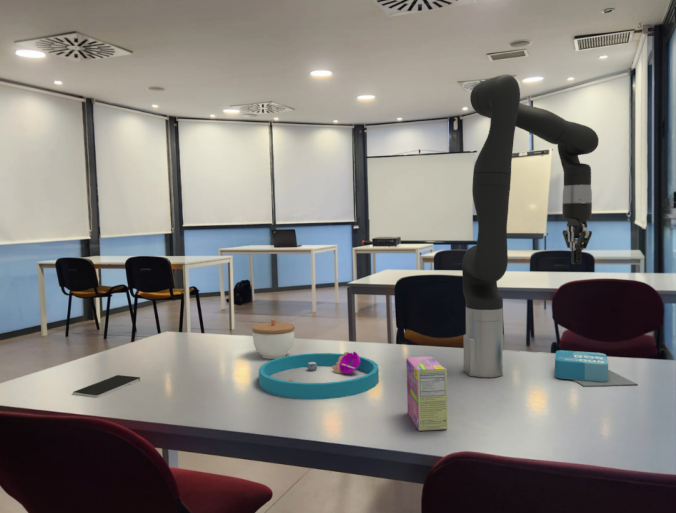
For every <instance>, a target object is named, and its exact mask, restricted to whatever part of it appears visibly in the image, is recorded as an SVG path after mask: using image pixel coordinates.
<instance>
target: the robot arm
mask: <svg viewBox="0 0 676 513" xmlns="http://www.w3.org/2000/svg"><path fill="white" fill-rule="evenodd" d="M469 99H470V104H471V107H472V109H473V110H474V111H475V112H476V114H478V115H480V116H481V117H485V118H489V119H490V124H489V130H488V134H487V137H486V138H485V141H484V143H483V146H482V148H481V150H480V151H479V153H478V156H477V158H476V161H475V162H474V167H473V174H472V189H471V190H472V191H471V192H472V199H473V204H474V208H475V209H474V210H475V213H476V217H477V228H478V229H477V240H476V245H473V246H470V248H469V247H468V249H467V250H466V251H465V253H464V254H463V258H462V266H461V267H462V271H461V272H462V275H461V276H462V292H463V296H464V297H463V298H464V299H465V300H464V301H465V334H463V371H464V372H465V373H466V374H467V375H468V376H469V377H477V378H478V377H479V378H497V377H500V376H503V373H504V372H503V368H504V366H503V362H504V361H503V359H504V358H503V356H504V355H503V348H504V344H503V341H504V340H503V338H504V335H503V332H504V331H503V330H504V329H503V328H504V326H503V324H504V322H503V320H504V319H503V318H504V316H503V315H504V314H503V312H504V311H503V310H504V308H503V307H504V304H503V302H504V300H503V296H502V295H501V293H500V291H499V289H498V281H499V280H500V279H502V278H503V276H504V275H505V274H506V272H507V269H508V264H509V261H508V260H509V258H508V216H509V202H510V191H511V181H512V162H513V161H512V160H513V149H514V140H515V134H516V133H515V132H516V131H515V130H516V128H518V129H520V130H523V131H525V132H528V133H529V134H532V135H534V136H536V137H538V138H539V139H542V140H543V141H545V142H547V143H549V144H552V145H557V152H558V156H559V159H560V164H561V166H562V172H563V188H562V189H563V190H562V207H561V208H562V212H561V213H562V216H561V217H562V220H567V224H566V229H564V230H562V235H563V238H564V241H565V245H566V248H567V249H569V250H570V251H571V252H570V253H571V256H570V259H571V261H570V262H571V264H573V265H581V264H582V255H583V254H582V251H584V249H587V247H588V244H589V242H590V240H591V237H592V235H593V231H592V230H588V222H587V220H589V219H592V217H593V213H592V212H593V210H592V209H593V206H592V205H593V204H592V203H593V202H592V200H593V192H592V191H593V190H592V167H591V166H590V164H587V163H582V162H580V160H579V159H580V158H579V156H581V155H583V156H584V155H588V154H591V153H593V152H594V151H595V150H597V148H598V146H599V135H598V134H597V133H596V131H595V129H593V128H591V127H590V126H587V125H584V124H582V123H581V124H580V123H578V122H574V121H569V120H566V119H565V118H563V117H561V116H559V115H558V114H556V113H554V112H553V111H552V112H551V111H550V110H547V109H544V108H540V107H538V106H537V107H536V106H532V105H528V104H525V103H521V90H520V84H519V82H518V81H517V79H516V78H515V77H514V76H513V75H512V74H507V73H506V74H502V75H497V76H494V77H491V78H488V79H485V80H483V81H481V82H478V83H477V84H476V85H475V86H473V87H472V90H471V93H470V98H469Z"/></svg>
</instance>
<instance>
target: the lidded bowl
mask: <svg viewBox="0 0 676 513" xmlns="http://www.w3.org/2000/svg"><path fill="white" fill-rule="evenodd" d="M295 329H296V327H295V325H294V324H293V323H290V322H283V321H281V322H280V321H279V322H276V319H274V318H273V319H271V321H270V322H263V323H258V324H255V325H253V326H252V327H251V331H252V339H253V345H254V348H255V350H256V352H257V353H258V354H259V355H261V358H263V359H269V360H274V359H277V358H282V357H286V356H287V354H288V353H289V352H290V351H291V349H292V348H293V346H294V340H295Z"/></svg>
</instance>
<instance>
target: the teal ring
mask: <svg viewBox="0 0 676 513" xmlns="http://www.w3.org/2000/svg"><path fill="white" fill-rule="evenodd" d="M318 367H331V369H332V372H333V373H334V374H339V375H340V374H346V375H349V374H352V373H353V372H355V371H356V370H357V371H361V372H364V373H366V374H365V375H362V376H359V377H355V378H350V379H345V380H339V381H329V382H327V381H326V382H301V381H293V380H292V379H288V380H283V379H278V378H276V377H272V376H273V375H275V374H278V373H281V372H285V371H288V370H293V369H299V368H301V369H302V368H307V369H308V370H309V371H310V372H314V371H316V370H317V369H318ZM379 370H380V369H379V364H378V363H377V362H375V361H374V360H372V359H369V358H367V357H363V356H360V355H359V353H357V352H356V351H353V352H348V351H346V352H343V353H334V352H333V353H332V352H324V353H323V352H320V353H319V352H315V353H313V352H312V353H299V354H294V355H293V354H291V355H286V356H285V357H282V358H277V359H270V360H269V361H268V360H267V361H266V362H264V363H263V364H261V365H260V366H259V368H258V384H259V387H260V388H261V390H263V391H265V392H266V393H270V394H272V395H274V396H279V397H283V398H289V399H298V400H299V399H300V400H328V399H329V400H330V399H337V398H339V399H340V398H346V397H352V396H356V395H359V394H363V393H365V392H368V391H370V390H372V389H373V388H375V387H376V386H377V385H379V382H380V380H379Z"/></svg>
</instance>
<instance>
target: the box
mask: <svg viewBox="0 0 676 513" xmlns="http://www.w3.org/2000/svg"><path fill="white" fill-rule="evenodd" d="M405 361H406V362H405V363H406V400H407V401H406V402H407V403H406V404H407V414H408V416H409V417H410V419H411V420H412V423H413V424H414V426H415V427H416V428H417V430H418V431H419V432H421V431H422V432H423V431H439V430H448V394H447V393H448V390H447V388H448V386H447V385H448V384H447V371H448V370H447V368H446V367H444V366H443V365H442V364H441V363H440V362H439V361H437V360H436V359H435V357H433V356H415V357H413V356H412V357H406V359H405Z"/></svg>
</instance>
